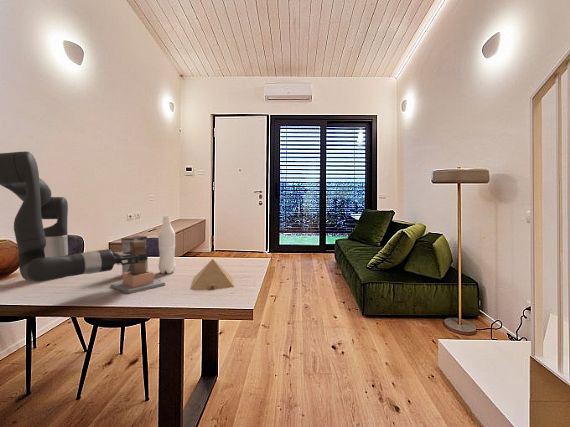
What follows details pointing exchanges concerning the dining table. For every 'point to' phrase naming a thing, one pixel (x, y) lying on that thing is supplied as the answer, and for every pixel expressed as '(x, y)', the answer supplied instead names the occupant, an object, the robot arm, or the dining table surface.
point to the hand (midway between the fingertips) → (141, 255)
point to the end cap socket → (137, 282)
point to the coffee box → (126, 248)
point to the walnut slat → (137, 249)
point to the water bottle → (166, 247)
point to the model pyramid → (212, 277)
